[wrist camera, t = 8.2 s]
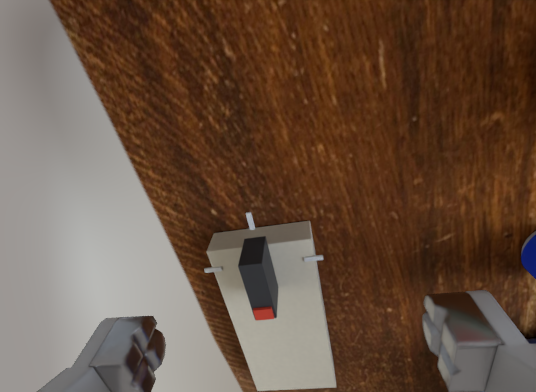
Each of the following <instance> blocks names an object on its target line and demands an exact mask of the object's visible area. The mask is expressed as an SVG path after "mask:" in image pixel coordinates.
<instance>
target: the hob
mask: <svg viewBox="0 0 536 392" xmlns="http://www.w3.org/2000/svg"><path fill="white" fill-rule="evenodd" d="M246 217H247V220H248V224H249V228H250V229H243V230H235V231H227V232H220V233H214V234H213V237H212V239H211V242H210V244H209V247H208V249H207V255H208V257H209V260H210V263H211V265H212V267H211V268H204V271H205V273H209V272H214V274H215V276H216V279H217V282H218V285H219V287H220V290H221V293H222V295H223V298H224V301H225V304H226V306H227V309H228V312H229V315H230V317H231V320H232V323H233V325H234V328H235V331H236V334H237V336H238V339H239V342H240V345H241V347H242V350H243V353H244V355H245V358H246V361H247V364H248V366H249V369H250V372H251V375H252V377H253V380H254V383H255V385H256V388H257V391H268V390H289V389H311V388H332V387H336V378H335V370H334V363H333V356H332V350H331V344H330V338H329V332H328V326H327V320H326V314H325V308H324V302H323V296H322V290H321V284H320V278H319V272H318V266H317V260H323V255H316V254H315V248H314V242H313V236H312V230H311V224H310V221H303V222H296V223H288V224H281V225H273V226H265V227H258V228H255V226H254V222H253V218H252V214H251V212H247V213H246ZM262 236H266V240H267V244H268V248H269V251H270V255H271V259H272V263H273V267H274V271H275V275H276V279H277V283H278V305H277V318H274V319H269V320H257V321H256V320H255V318H254V315H253V312H252V309H251V305H250V302H249V299H248V296H247V293H246V290H245V287H244V283H243V280H242V277H241V274H240V271H239V268H238V264H239V260H240V256H241V251H242V247H243V243H244V239H247V238H255V237H262Z"/></svg>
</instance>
